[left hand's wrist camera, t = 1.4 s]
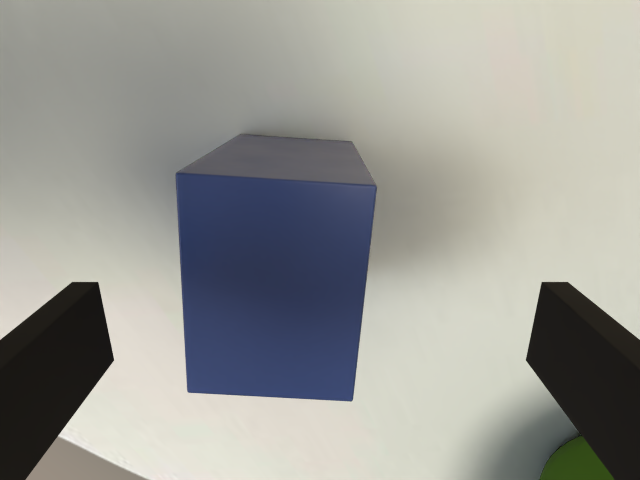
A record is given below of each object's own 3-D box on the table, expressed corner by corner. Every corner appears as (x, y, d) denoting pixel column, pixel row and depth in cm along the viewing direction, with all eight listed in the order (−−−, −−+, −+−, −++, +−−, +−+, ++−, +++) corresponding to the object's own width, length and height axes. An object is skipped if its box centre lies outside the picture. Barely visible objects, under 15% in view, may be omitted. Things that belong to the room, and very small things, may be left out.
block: (239, 272, 28) (186, 393, 17) (239, 134, 25) (174, 172, 14) (340, 278, 28) (352, 402, 17) (352, 141, 25) (377, 185, 14)
